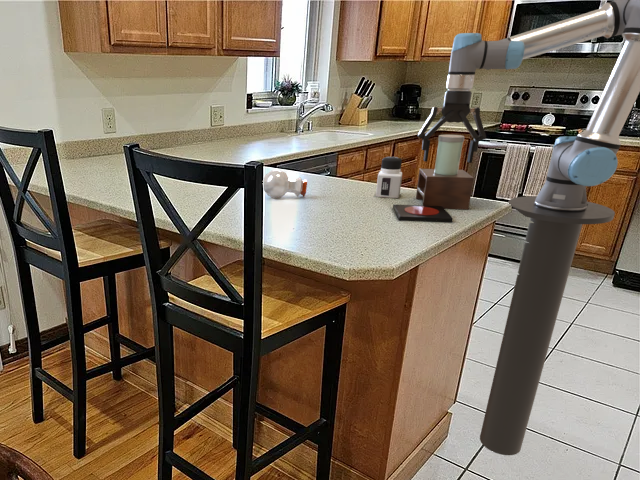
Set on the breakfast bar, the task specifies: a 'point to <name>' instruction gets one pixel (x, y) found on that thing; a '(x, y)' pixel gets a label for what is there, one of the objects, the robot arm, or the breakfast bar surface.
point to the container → (389, 178)
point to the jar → (448, 154)
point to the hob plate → (422, 213)
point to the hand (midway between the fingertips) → (447, 161)
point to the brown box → (444, 189)
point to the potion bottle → (283, 184)
